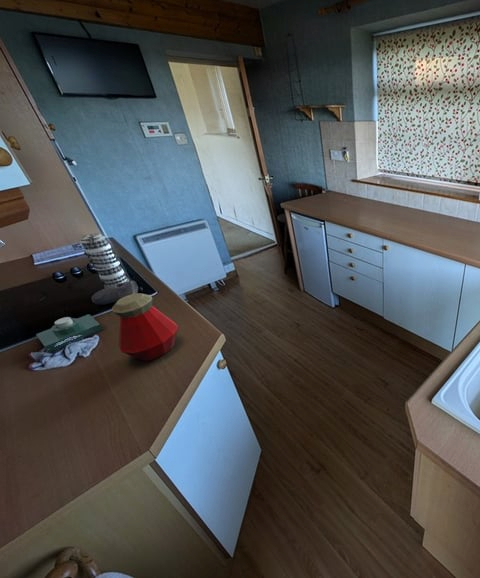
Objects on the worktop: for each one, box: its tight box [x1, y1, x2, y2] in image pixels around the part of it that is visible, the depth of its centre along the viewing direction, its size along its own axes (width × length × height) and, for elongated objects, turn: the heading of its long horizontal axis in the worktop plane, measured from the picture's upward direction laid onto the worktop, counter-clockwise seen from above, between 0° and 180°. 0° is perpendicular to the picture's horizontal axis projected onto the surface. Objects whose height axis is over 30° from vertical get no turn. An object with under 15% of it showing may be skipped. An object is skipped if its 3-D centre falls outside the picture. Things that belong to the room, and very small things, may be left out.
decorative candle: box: [79, 233, 130, 289], centre depth 122 cm, size 9×9×25 cm
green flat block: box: [35, 314, 104, 353], centre depth 100 cm, size 14×11×4 cm
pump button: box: [54, 316, 74, 329], centre depth 99 cm, size 4×4×2 cm
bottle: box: [111, 292, 179, 362], centre depth 89 cm, size 16×14×20 cm
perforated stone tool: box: [91, 280, 139, 306], centre depth 119 cm, size 15×5×7 cm, turn 128°
